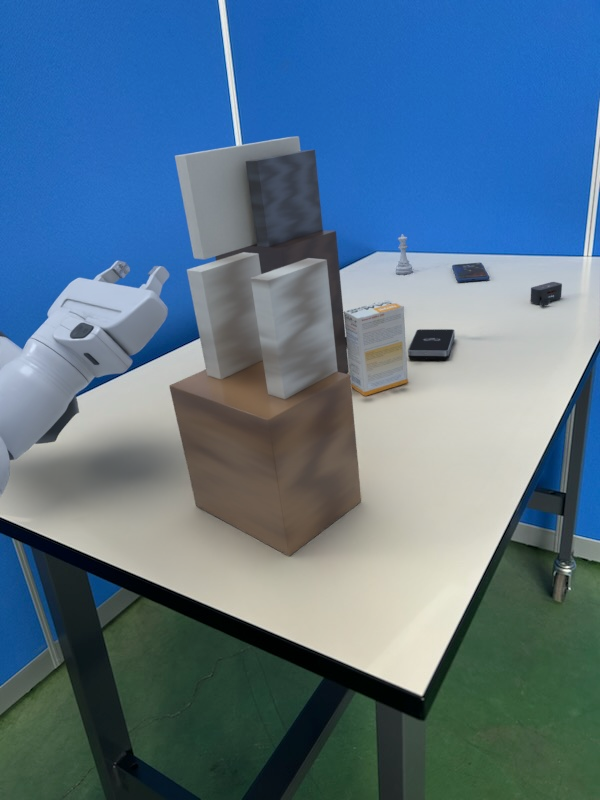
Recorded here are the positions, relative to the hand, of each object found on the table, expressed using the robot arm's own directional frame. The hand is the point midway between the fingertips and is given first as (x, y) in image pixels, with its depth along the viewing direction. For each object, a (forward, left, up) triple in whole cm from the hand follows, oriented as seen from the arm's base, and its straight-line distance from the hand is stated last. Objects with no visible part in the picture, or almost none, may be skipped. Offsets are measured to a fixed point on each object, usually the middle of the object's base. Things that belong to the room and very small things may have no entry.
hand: (143, 266), depth 83 cm
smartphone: (+93, +5, -25) cm, 97 cm away
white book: (+20, 0, -1) cm, 20 cm away
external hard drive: (+45, -15, -25) cm, 54 cm away
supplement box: (+28, -16, -25) cm, 41 cm away
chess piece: (+89, +22, -25) cm, 96 cm away
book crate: (-5, -26, -25) cm, 36 cm away
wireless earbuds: (+78, -21, -25) cm, 85 cm away
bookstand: (+24, 0, -25) cm, 35 cm away
